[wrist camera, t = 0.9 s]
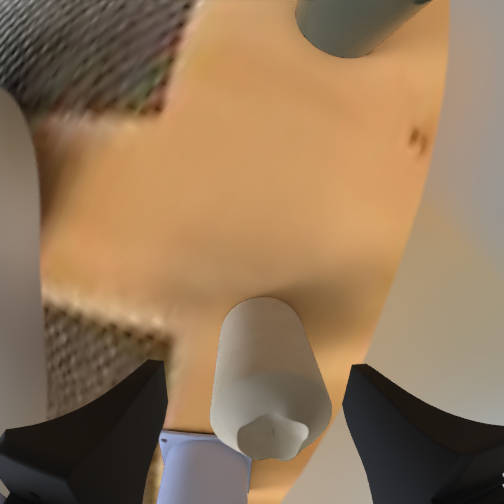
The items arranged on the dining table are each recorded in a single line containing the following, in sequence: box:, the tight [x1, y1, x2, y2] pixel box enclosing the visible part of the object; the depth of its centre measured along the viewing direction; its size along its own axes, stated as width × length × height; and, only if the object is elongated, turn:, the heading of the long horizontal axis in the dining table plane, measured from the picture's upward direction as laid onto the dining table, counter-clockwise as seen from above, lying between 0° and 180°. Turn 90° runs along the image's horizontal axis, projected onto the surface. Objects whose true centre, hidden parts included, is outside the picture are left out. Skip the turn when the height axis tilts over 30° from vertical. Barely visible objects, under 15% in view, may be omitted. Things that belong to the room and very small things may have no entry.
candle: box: [210, 297, 332, 461], centre depth 16 cm, size 6×6×10 cm
